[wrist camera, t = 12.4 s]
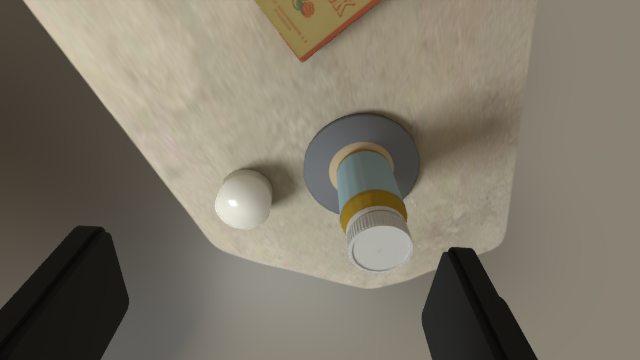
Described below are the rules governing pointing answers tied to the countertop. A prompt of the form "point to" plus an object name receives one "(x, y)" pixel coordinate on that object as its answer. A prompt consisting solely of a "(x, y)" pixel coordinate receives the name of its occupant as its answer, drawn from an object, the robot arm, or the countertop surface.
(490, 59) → the countertop surface
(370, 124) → the disc
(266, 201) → the white smooth round part
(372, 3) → the carton
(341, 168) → the bottle
